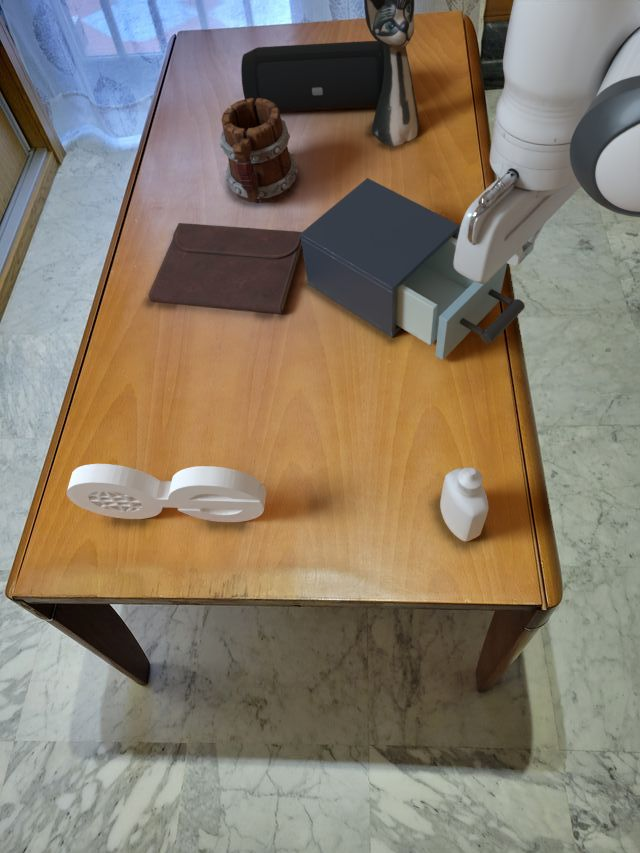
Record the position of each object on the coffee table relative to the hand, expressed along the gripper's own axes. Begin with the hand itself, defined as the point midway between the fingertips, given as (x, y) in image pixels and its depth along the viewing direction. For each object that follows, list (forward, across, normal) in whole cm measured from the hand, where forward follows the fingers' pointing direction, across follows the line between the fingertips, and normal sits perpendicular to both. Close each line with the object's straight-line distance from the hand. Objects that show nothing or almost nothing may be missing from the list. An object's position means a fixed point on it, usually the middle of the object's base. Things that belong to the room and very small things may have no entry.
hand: (517, 256), depth 68 cm
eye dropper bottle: (+16, -22, -10) cm, 30 cm away
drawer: (+15, 0, +9) cm, 18 cm away
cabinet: (+16, 0, +20) cm, 26 cm away
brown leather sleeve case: (+16, -12, +39) cm, 44 cm away
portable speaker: (+16, +26, +55) cm, 63 cm away
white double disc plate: (+16, -43, +15) cm, 48 cm away
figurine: (+16, +27, +40) cm, 51 cm away
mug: (+16, +4, +48) cm, 50 cm away
